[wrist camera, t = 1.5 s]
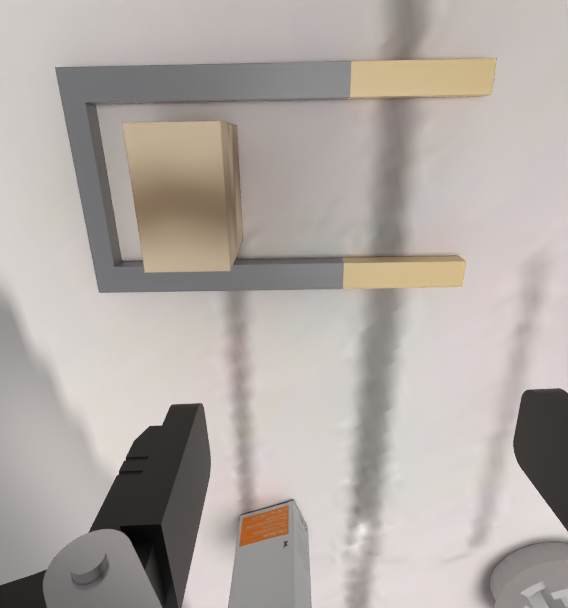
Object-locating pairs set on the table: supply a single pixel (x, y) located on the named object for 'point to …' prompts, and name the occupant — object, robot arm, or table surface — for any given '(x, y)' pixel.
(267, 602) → the skincare box
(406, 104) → the table surface
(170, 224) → the wooden block
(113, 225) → the rail bay
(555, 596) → the flag stand
